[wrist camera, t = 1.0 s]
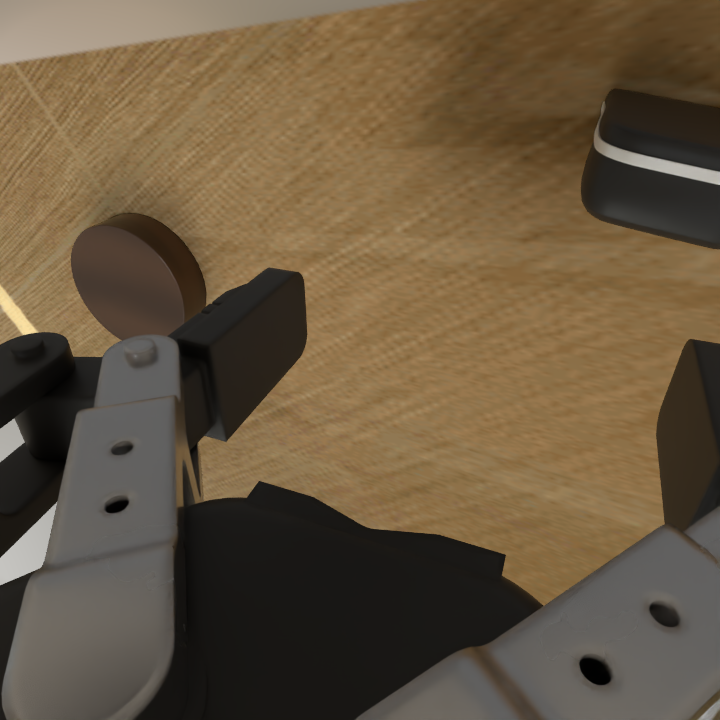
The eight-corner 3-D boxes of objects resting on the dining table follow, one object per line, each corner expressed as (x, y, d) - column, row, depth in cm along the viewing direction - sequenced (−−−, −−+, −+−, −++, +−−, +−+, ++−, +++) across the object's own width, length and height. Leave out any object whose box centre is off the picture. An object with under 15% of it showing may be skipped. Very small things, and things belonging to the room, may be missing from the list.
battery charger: (579, 159, 31) (565, 226, 22) (605, 85, 29) (601, 125, 20) (713, 189, 29) (756, 274, 20) (752, 113, 27) (819, 170, 18)
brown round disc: (90, 196, 45) (61, 207, 43) (206, 236, 43) (182, 250, 41) (104, 309, 52) (80, 324, 49) (206, 349, 50) (185, 367, 47)
